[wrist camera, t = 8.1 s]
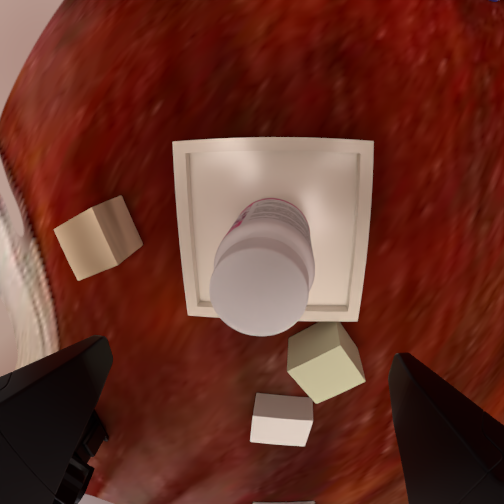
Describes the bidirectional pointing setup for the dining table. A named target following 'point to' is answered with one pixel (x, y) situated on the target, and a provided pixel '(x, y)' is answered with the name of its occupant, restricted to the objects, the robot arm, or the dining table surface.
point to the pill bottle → (263, 269)
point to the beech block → (99, 238)
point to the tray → (283, 187)
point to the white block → (281, 419)
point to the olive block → (324, 360)
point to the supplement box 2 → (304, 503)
